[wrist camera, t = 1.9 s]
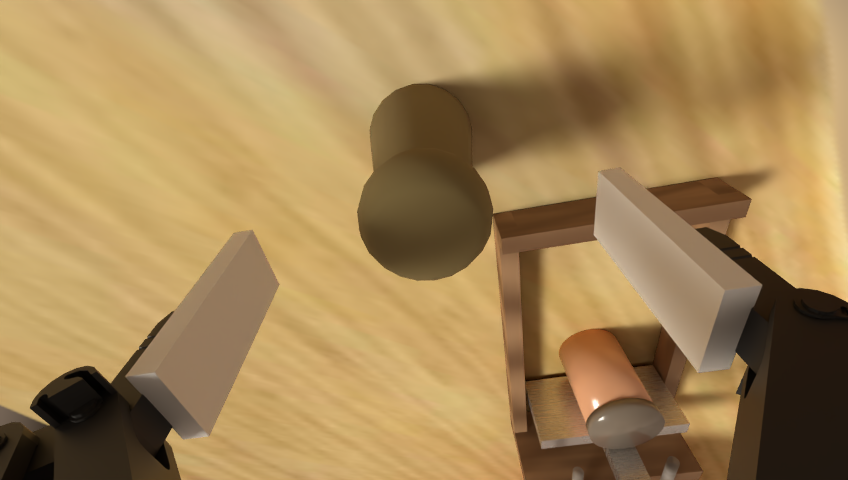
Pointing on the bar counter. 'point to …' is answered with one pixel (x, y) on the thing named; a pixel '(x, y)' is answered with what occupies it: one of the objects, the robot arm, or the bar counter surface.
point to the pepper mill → (423, 187)
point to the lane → (664, 454)
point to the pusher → (567, 426)
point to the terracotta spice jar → (609, 391)
